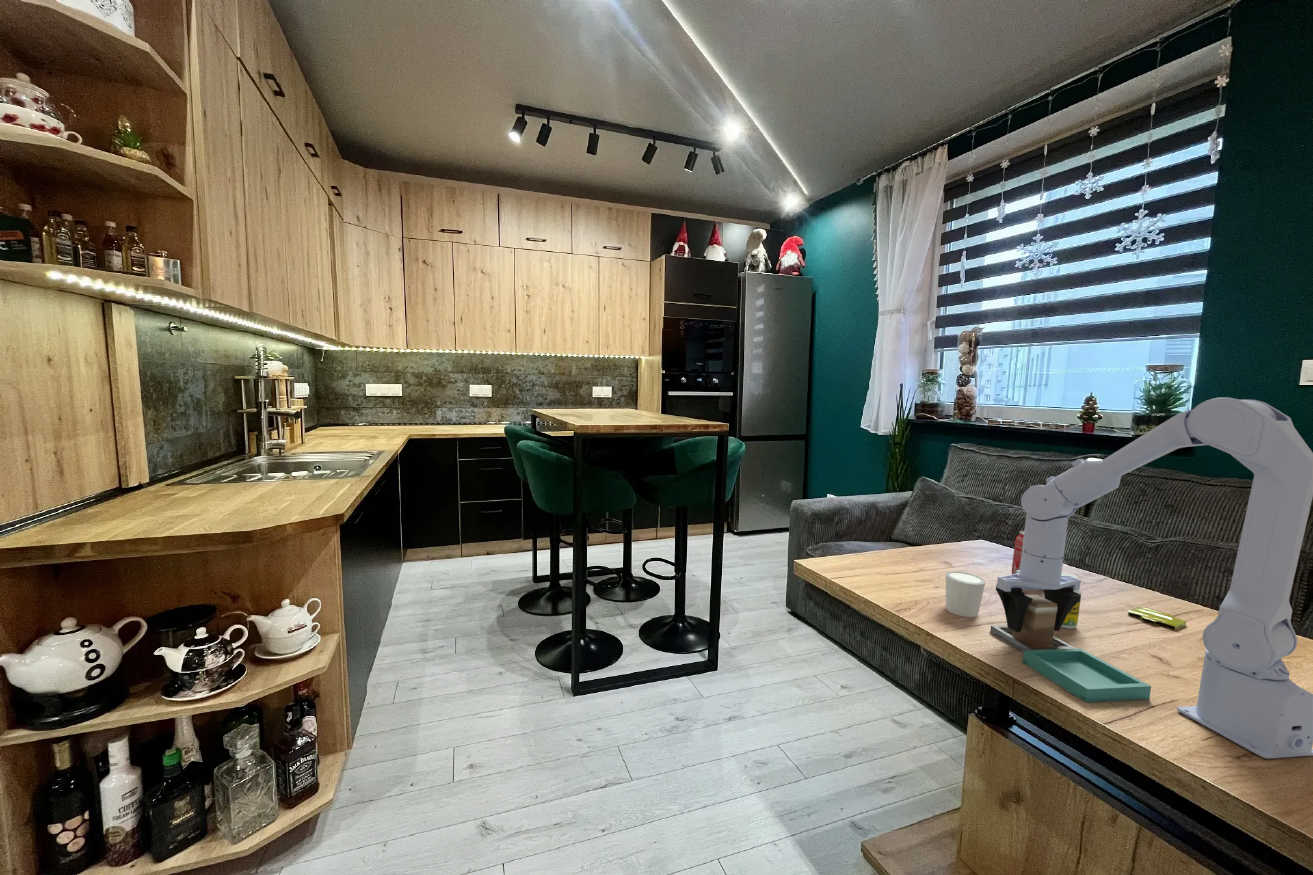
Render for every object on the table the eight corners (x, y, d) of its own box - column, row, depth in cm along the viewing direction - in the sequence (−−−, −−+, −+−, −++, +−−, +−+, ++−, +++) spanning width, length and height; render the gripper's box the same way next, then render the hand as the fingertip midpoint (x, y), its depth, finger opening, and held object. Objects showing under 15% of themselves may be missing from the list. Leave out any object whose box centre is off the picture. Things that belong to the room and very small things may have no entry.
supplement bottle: (1048, 614, 101) (1054, 568, 100) (1081, 625, 97) (1087, 577, 96) (1037, 620, 98) (1042, 572, 97) (1070, 632, 94) (1077, 582, 93)
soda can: (1045, 583, 119) (1051, 533, 118) (1049, 592, 113) (1056, 540, 112) (1009, 575, 123) (1015, 527, 122) (1011, 584, 117) (1017, 534, 116)
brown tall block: (1052, 648, 87) (1057, 604, 86) (1031, 649, 86) (1036, 604, 86) (1031, 637, 91) (1036, 594, 90) (1011, 637, 90) (1016, 594, 90)
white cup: (990, 616, 99) (994, 581, 99) (965, 620, 97) (969, 585, 96) (958, 601, 106) (961, 569, 105) (934, 605, 103) (937, 572, 102)
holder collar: (1075, 655, 85) (1076, 648, 85) (1031, 656, 84) (1031, 649, 84) (1031, 630, 94) (1032, 624, 93) (990, 631, 92) (990, 625, 92)
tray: (1149, 699, 73) (1151, 686, 73) (1086, 702, 72) (1087, 689, 71) (1078, 659, 84) (1080, 648, 83) (1022, 661, 82) (1023, 650, 82)
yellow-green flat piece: (1198, 631, 98) (1201, 617, 98) (1179, 640, 94) (1182, 625, 94) (1132, 610, 107) (1134, 597, 107) (1112, 617, 103) (1114, 603, 103)
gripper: (1057, 546, 92) (1048, 617, 93) (986, 546, 90) (978, 619, 91) (1096, 559, 85) (1085, 636, 87) (1020, 559, 83) (1010, 638, 84)
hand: (1033, 628), depth 88 cm, fingers open, 7 cm apart
